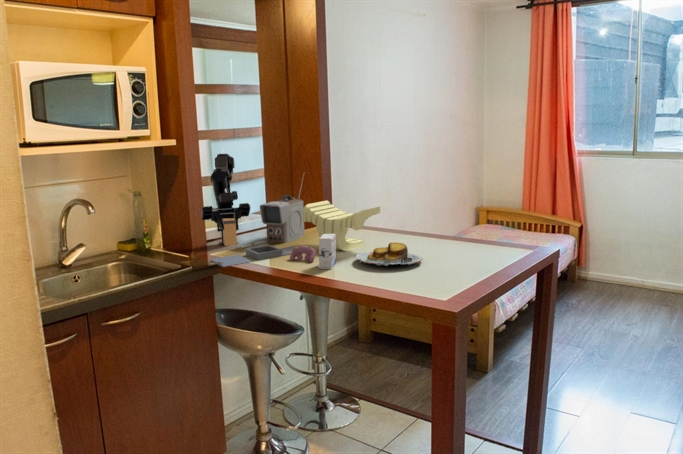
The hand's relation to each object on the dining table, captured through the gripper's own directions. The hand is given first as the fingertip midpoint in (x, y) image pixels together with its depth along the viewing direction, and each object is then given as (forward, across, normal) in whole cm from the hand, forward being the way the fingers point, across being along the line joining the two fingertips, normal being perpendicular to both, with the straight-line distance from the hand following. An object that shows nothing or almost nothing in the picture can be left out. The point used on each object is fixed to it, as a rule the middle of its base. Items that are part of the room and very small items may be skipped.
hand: (229, 229), depth 222 cm
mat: (+8, 0, +10) cm, 13 cm away
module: (+4, 0, +6) cm, 7 cm away
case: (+6, +19, +12) cm, 24 cm away
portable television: (-11, +31, +30) cm, 45 cm away
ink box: (+26, +32, -6) cm, 41 cm away
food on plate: (+30, +54, -10) cm, 63 cm away
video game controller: (+17, +26, +2) cm, 31 cm away
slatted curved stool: (+7, +48, +13) cm, 50 cm away
